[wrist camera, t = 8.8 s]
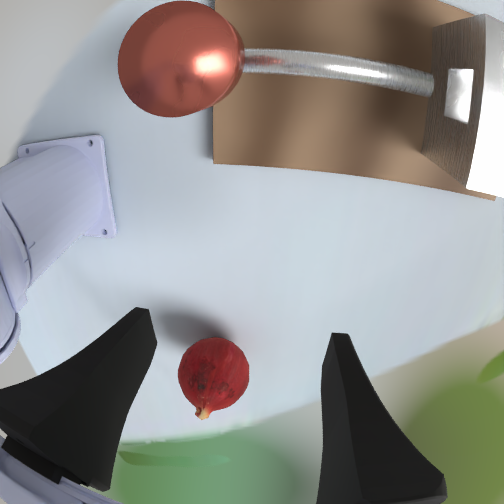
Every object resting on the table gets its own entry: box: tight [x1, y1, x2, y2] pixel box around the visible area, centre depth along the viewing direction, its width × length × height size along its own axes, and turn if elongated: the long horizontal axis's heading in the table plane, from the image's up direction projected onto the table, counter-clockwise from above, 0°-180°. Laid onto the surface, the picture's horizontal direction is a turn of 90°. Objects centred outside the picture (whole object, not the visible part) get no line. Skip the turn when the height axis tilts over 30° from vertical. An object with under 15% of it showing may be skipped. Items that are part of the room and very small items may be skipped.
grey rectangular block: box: [421, 14, 504, 197], centre depth 11 cm, size 2×8×6 cm, turn 178°
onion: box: [178, 337, 249, 420], centre depth 24 cm, size 6×6×8 cm
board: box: [213, 0, 496, 201], centre depth 14 cm, size 19×12×1 cm, turn 88°
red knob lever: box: [118, 1, 434, 117], centre depth 11 cm, size 12×4×7 cm, turn 88°
